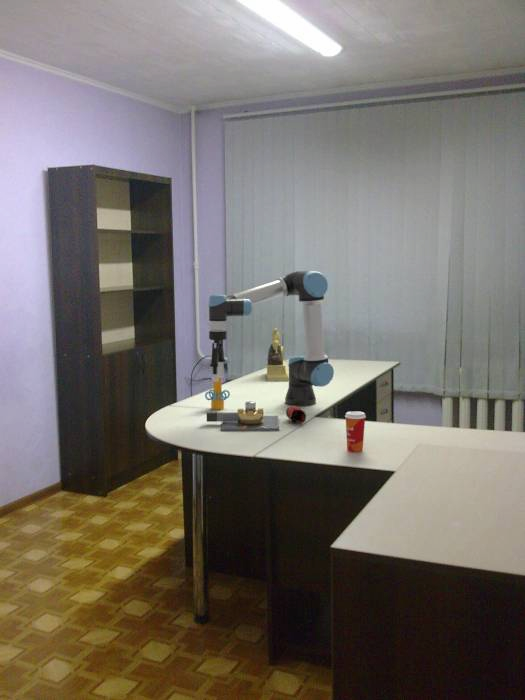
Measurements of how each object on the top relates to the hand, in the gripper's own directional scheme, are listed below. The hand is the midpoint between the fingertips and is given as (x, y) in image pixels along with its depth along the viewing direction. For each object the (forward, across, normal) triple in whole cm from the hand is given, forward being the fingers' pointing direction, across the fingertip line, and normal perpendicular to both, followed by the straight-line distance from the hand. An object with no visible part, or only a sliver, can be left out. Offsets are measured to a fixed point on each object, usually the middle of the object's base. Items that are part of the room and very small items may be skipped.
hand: (217, 379), depth 311 cm
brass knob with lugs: (+17, +7, +9) cm, 20 cm away
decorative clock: (+18, -118, +17) cm, 120 cm away
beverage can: (+18, -1, +34) cm, 39 cm away
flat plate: (+18, +6, +15) cm, 25 cm away
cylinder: (+18, -25, -4) cm, 31 cm away
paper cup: (+18, +45, +58) cm, 76 cm away
